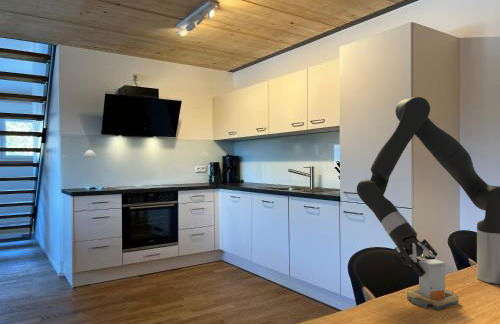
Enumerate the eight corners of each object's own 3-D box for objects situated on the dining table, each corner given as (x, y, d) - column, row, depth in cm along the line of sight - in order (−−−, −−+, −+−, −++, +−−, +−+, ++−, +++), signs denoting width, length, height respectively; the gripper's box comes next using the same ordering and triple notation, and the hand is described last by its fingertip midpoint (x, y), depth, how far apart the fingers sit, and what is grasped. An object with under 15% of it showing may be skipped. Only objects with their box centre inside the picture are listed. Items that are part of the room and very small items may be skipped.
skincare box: (429, 304, 106) (428, 264, 106) (418, 299, 110) (418, 260, 110) (445, 302, 108) (445, 262, 108) (434, 297, 112) (434, 258, 112)
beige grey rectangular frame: (429, 292, 116) (429, 284, 116) (461, 302, 108) (461, 294, 108) (404, 300, 110) (403, 292, 110) (435, 312, 101) (435, 303, 101)
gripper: (391, 224, 113) (425, 270, 103) (419, 219, 120) (453, 262, 110) (377, 238, 117) (408, 283, 107) (405, 233, 125) (437, 275, 115)
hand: (431, 272), depth 109 cm, fingers open, 8 cm apart
